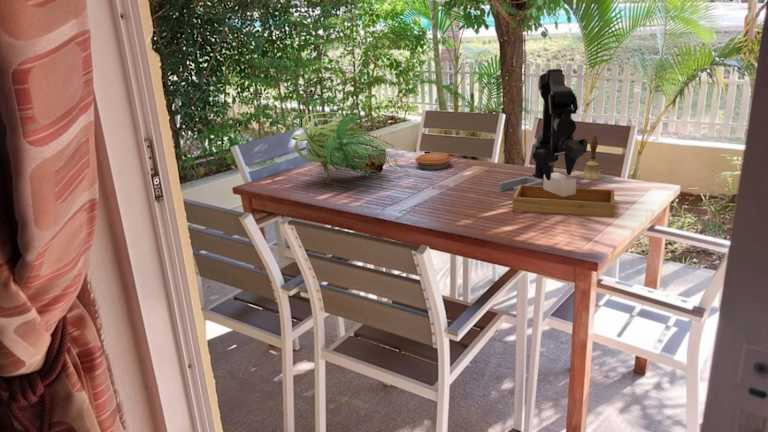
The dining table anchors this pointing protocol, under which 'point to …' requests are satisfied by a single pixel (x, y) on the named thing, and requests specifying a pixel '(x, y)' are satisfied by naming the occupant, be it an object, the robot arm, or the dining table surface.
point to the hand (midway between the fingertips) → (558, 177)
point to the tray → (564, 201)
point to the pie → (433, 161)
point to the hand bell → (592, 163)
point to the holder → (519, 183)
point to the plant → (344, 147)
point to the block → (560, 184)
